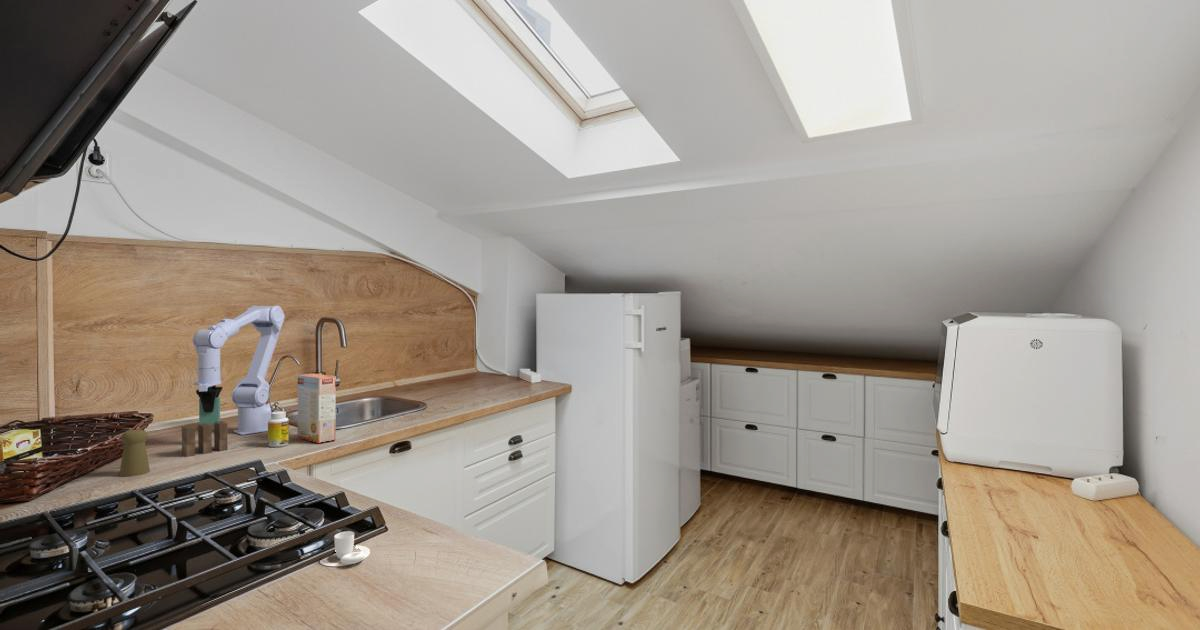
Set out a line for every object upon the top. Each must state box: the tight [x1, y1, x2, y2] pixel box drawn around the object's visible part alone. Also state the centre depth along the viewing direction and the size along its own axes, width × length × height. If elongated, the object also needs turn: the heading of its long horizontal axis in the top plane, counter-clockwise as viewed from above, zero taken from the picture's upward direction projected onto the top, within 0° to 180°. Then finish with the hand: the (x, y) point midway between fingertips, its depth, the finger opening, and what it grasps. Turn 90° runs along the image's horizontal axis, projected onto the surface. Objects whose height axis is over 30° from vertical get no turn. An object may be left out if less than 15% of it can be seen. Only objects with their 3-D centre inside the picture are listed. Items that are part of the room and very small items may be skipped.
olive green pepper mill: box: [118, 429, 151, 477], centre depth 141 cm, size 6×6×11 cm
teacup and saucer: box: [319, 530, 371, 568], centre depth 95 cm, size 9×8×4 cm
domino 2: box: [197, 423, 213, 455], centre depth 162 cm, size 2×5×8 cm, turn 50°
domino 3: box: [213, 420, 228, 452], centre depth 165 cm, size 2×5×8 cm, turn 50°
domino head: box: [198, 397, 221, 425], centre depth 172 cm, size 2×5×8 cm, turn 112°
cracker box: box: [297, 372, 337, 444], centre depth 178 cm, size 14×6×21 cm, turn 53°
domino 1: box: [181, 425, 196, 458], centre depth 159 cm, size 2×5×8 cm, turn 50°
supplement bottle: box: [267, 410, 290, 448], centre depth 170 cm, size 6×6×10 cm
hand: (209, 411), depth 172 cm, fingers closed on domino head, 2 cm apart
